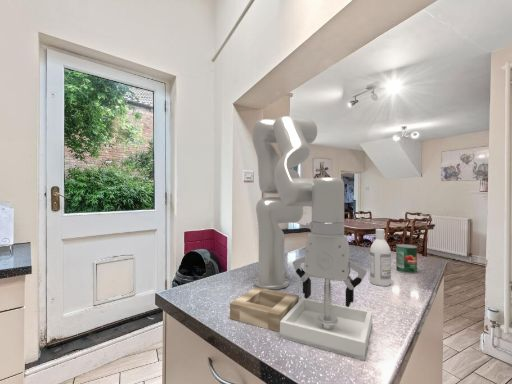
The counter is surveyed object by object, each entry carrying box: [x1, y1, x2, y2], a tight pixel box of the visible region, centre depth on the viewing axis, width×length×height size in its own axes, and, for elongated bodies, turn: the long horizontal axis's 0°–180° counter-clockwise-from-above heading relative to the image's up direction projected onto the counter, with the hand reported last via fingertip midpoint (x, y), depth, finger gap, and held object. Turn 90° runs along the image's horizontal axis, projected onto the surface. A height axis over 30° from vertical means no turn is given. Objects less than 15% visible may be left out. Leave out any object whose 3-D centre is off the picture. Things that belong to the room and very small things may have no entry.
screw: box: [317, 279, 338, 330], centre depth 63 cm, size 13×5×5 cm
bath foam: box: [369, 228, 392, 287], centre depth 97 cm, size 7×7×20 cm
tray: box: [279, 297, 373, 362], centre depth 62 cm, size 16×18×4 cm
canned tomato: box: [395, 243, 418, 275], centre depth 113 cm, size 8×8×11 cm
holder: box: [229, 286, 300, 333], centre depth 71 cm, size 14×14×4 cm
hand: (327, 300), depth 63 cm, fingers open, 9 cm apart
